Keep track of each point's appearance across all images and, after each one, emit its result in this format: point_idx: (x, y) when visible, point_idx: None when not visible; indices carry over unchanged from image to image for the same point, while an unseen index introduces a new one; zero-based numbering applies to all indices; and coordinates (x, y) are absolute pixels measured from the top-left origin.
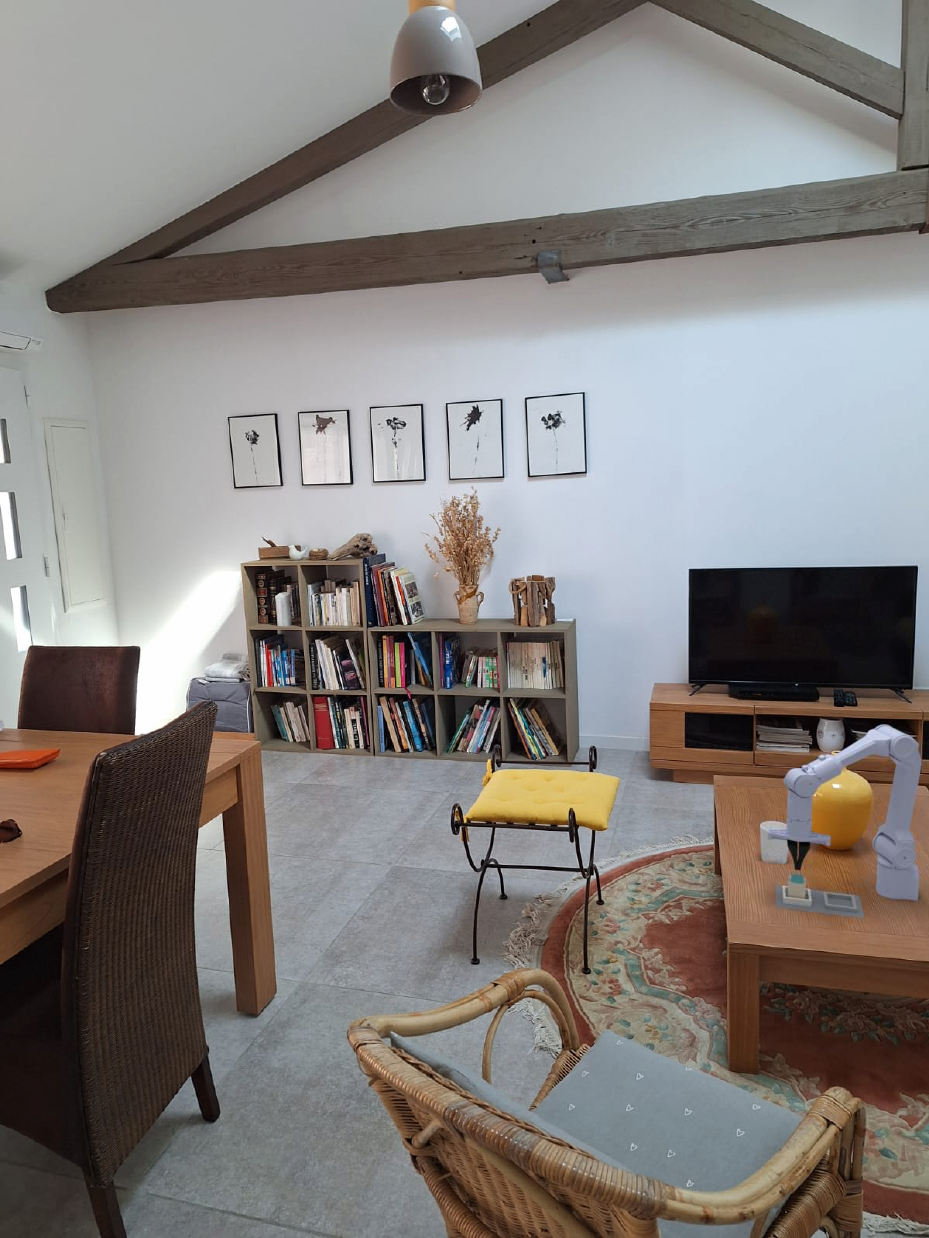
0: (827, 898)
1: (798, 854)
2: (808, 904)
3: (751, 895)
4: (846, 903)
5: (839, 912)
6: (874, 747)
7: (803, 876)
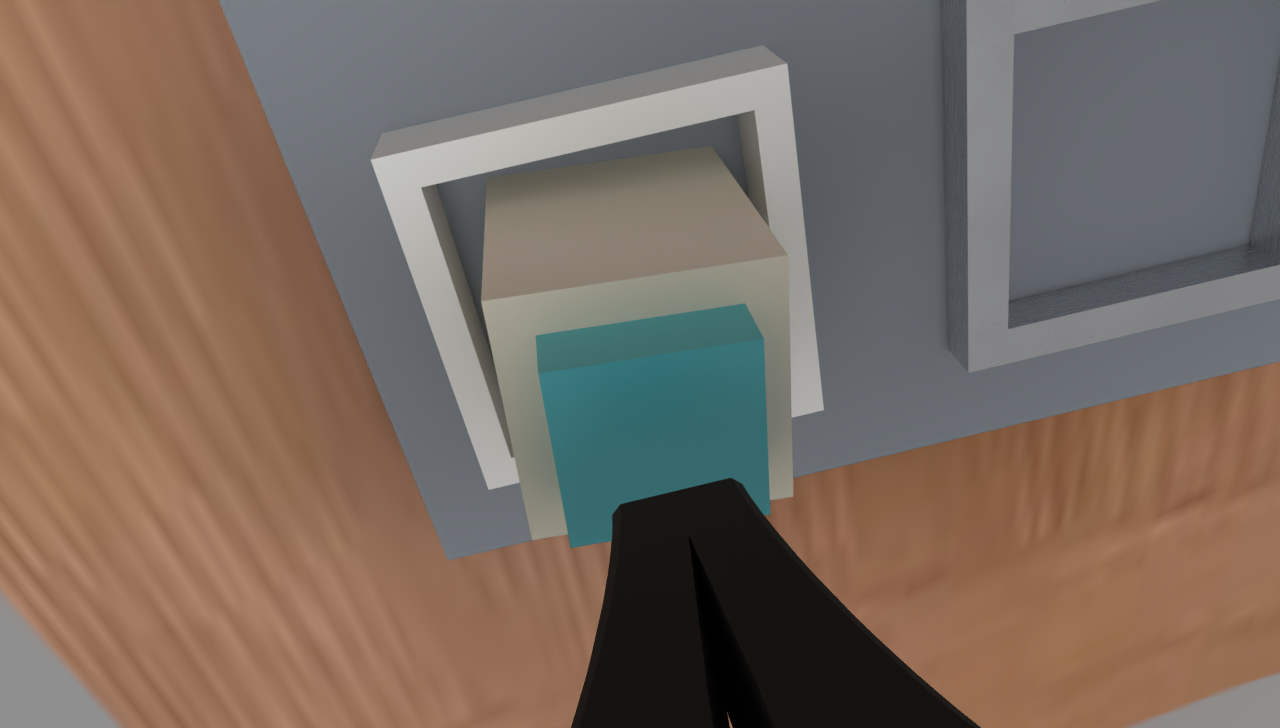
0: (1008, 185)
1: (760, 697)
2: None
3: (45, 333)
4: (1213, 86)
5: (1090, 349)
6: None
7: (762, 370)
